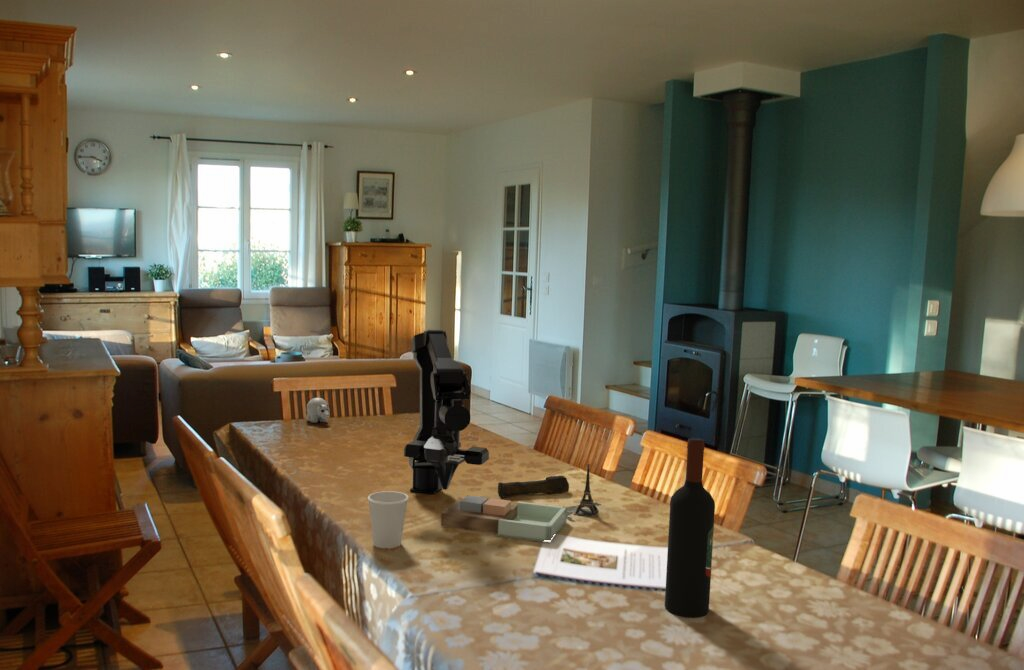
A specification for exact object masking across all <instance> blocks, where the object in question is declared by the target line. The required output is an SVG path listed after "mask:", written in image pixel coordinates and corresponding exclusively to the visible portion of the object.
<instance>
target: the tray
mask: <svg viewBox="0 0 1024 670" xmlns="http://www.w3.org/2000/svg"><path fill="white" fill-rule="evenodd" d="M516 505H517V517H516V518H515V519H514V520H505V519H499V522H498V534H497V536H498V537H503V538H509V539H510V538H511V539H517V540H518V539H519V540H525V541H532V542H539V543H544V542H543V541H544V540H551V538H552V537H553V535H554V534H556V535H558V534H559V532H560V530H562V528H563V527H564V526H565V524H566V523H567V519H566V512H567V507H568V506H566V507H565V506H560V505H559V506H558V505H549V504H541V503H533V502H525V501H517V502H516Z"/></svg>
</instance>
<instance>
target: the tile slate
mask: <svg viewBox="0 0 1024 670" xmlns="http://www.w3.org/2000/svg"><path fill="white" fill-rule="evenodd" d="M461 499H462V500H461V501H460V510H464V511H472V512H479V513H481V512H482V511H483V504H484V503H485V502H486V501H488V500H489V498H488V497H483V496H477V495H476V496H475V495H466V496H464V498H461Z"/></svg>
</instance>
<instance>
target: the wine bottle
mask: <svg viewBox="0 0 1024 670" xmlns="http://www.w3.org/2000/svg"><path fill="white" fill-rule="evenodd" d="M686 446H687V447H686V448H687V452H686V453H687V454H686V466H685V467H686V470H685V471H686V472H685V482H684V484H683V486H681V487H679V488H678V489H677V490H675V492H673V494H672V496H671V497H670V505H669V518H668V519H669V520H668V539H667V553H666V554H667V556H666V558H667V559H666V571H665V572H666V575H665V576H666V577H665V590H664V591H665V593H664V596H665V597H664V608H665V610H666V611H667V612H669V613H670V614H673V615H674V616H675V615H676V616H677V617H678V616H679V617H681V618H682V617H683V618H692V619H694V618H701V617H705V616H706V615H708V614H709V611H710V599H711V598H710V596H711V595H710V594H711V579H712V565H713V564H712V562H713V561H712V560H713V544H714V529H715V513H716V511H715V510H716V503H715V499H714V498H713V496H712V495H711V493H710V492H709V491H708V490H707V489H706V488H705V487H704V486H703V473H704V472H703V471H704V470H703V469H704V456H705V455H704V454H705V452H704V451H705V440H704V439H702V438H698V437H697V438H696V437H691V438H690V437H689V438H688V439H687V443H686Z"/></svg>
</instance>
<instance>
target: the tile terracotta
mask: <svg viewBox="0 0 1024 670" xmlns="http://www.w3.org/2000/svg"><path fill="white" fill-rule="evenodd" d="M511 505H512V500H507V499H502V498H501V499H500V498H499V499H498V498H492V497H491V498H488V501H486V502H485V503H484V504H483V513H487V514H495V515H503V516H505V515H506V514H507V513H508V512H509V511H510V510H511Z"/></svg>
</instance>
